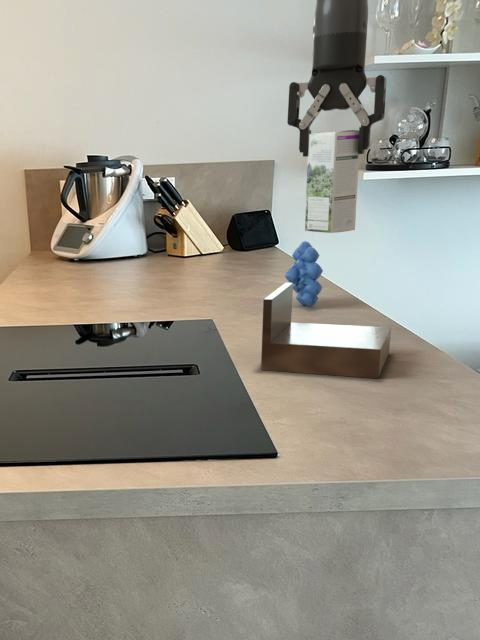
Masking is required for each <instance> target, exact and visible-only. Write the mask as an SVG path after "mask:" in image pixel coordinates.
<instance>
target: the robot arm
mask: <svg viewBox="0 0 480 640" xmlns="http://www.w3.org/2000/svg"><path fill="white" fill-rule="evenodd" d="M368 23H369V1H368V0H316V4H315V10H314V16H313V26H312V35H313V36H312V57H311V58H312V60H311V76H310V79H309V80H308V82H296V81H292V82H290V84H289V86H288V104H287V105H288V106H287V123H286V124H287V125H288V126H291V127H294V128H297V129H298V131H299V141H298V142H299V143H298V150H299V153H301V154H302V157H303V158H304V157H305V158H306V157H307V158H308V135H309V134H311V133H312V130H311V128H310V127H311V126H312V125H313V123H314V121H315V120H316V119H317V118H318V117H319V115H320V114H321V112H322V111H324V112H331V111H335V110H339V111H348V110H349V109H351V111H352V113H353V114H354V115H355V117H356V118H357V120H358V121H359V123H360V126H359V128H358V131H359V140H358V154H359V155H364V154H365V150H368V149H369V148H370V143H371V128H372V126H373V125H374V124H376V123H378V122H381V121H384V119H385V112H386V98H387V97H386V96H387V77H386V76H385V75H382V74H379V75H377V76H372V77H367V75H366V71H365V67H366V54H367V38H368V25H369V24H368ZM367 86H368V87H369V89H370V92H371V93H373V94H374V106H373V113H371V114H370V115H369V113H368V112H367V110H366V108H365V105H363V103H362V101H361V100H360V96H361V95H362V94H363V92H364V90H365V89H366V88H367ZM307 91H308V93H309V94H310V95H311V97H312V98H313V101H312V102H311V103H310V105H309V107H308V109H307V110H306V113H305V114H304V116H303V117H302V119H301V118H300V108H301V107H300V106H301V105H300V104H301V99H303V98H304V96H305V94H306V92H307Z"/></svg>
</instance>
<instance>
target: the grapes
mask: <svg viewBox="0 0 480 640" xmlns="http://www.w3.org/2000/svg"><path fill="white" fill-rule="evenodd" d="M291 256H292V258H293V259H294V261H295V262H294V263H292V265H291V267H289V269H287V271H286V272H285V274H284V277H285V279H286V280H287V281H288V283H293V291H294V292H295V293H296V297H295V299H296V301H297V302H298V303H299V304H300V305H301V306H303V307H305V306H306V307H308V308H311V307H313V306H314V305H316V303H317V302H318V299H319V297H318V296H319V294H320V293H321V291H322V289H323V286H322V285H321V283H320V282H319V281H318V279H319V278H320V277H321V275H322V274H323V272H324V270H323V268H322V266H320V265H319V263H317V261H318V259H319V257H320V254H319V252H318V251H317V250H316V248H314V247H313V245H312V244H311V243H310V242H309V241H307V240H304V241H302V242H301V243H299V245H298V247H296V249H294V251H293V253H292V255H291Z"/></svg>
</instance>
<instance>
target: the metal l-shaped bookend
mask: <svg viewBox="0 0 480 640" xmlns="http://www.w3.org/2000/svg"><path fill="white" fill-rule="evenodd" d="M293 291H294V289H293V283H290V282H284V283H283V284H282V285H281V286H279V287H278V288H276V289H275V290H274V291H273V292H271V293H270V294H268V295H267V296H266V297H264V298H263V299H262V300H263V302H262V303H263V304H262V305H263V306H262V329H261V331H262V332H261V355H260V356H261V358H260V360H261V362H260V371H268V372H269V371H270V372H280V373H281V372H282V373H295V374H296V373H298V374H308V375H322V376H337V377H349V378H351V377H352V378H363V379H364V378H365V379H379V377H380V375H381V372H382V371H383V368H384V366H385V364H386V361H387V359H388V356H389V354H390V345H391V335H392V327H390V326H389V327H388V326H372V325H371V326H369V325H350V324H348V325H347V324H331V323H329V324H328V323H310V322H308V323H306V322H292V315H293V313H292V312H293Z"/></svg>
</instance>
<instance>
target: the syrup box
mask: <svg viewBox="0 0 480 640" xmlns="http://www.w3.org/2000/svg"><path fill="white" fill-rule="evenodd" d="M358 140H359V129H358V130H357V129H342V130H330V131H329V130H328V131H316V132H311V134H309V135H308V157H307V160H306V161H307V162H306V163H307V165H306V167H307V168H306V188H305V189H306V192H305V193H306V194H305V220H304V221H305V222H304V231H305V232H313V233H314V232H315V233H326V234H327V233H328V234H334V233H335V234H337V233H344V232H352V231H355V230H356V216H357V215H356V214H357V199H358V181H359V166H360V154H358Z"/></svg>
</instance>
